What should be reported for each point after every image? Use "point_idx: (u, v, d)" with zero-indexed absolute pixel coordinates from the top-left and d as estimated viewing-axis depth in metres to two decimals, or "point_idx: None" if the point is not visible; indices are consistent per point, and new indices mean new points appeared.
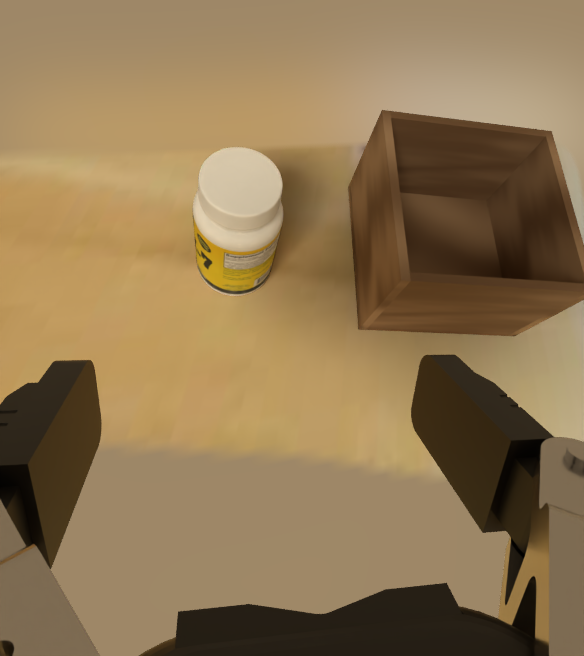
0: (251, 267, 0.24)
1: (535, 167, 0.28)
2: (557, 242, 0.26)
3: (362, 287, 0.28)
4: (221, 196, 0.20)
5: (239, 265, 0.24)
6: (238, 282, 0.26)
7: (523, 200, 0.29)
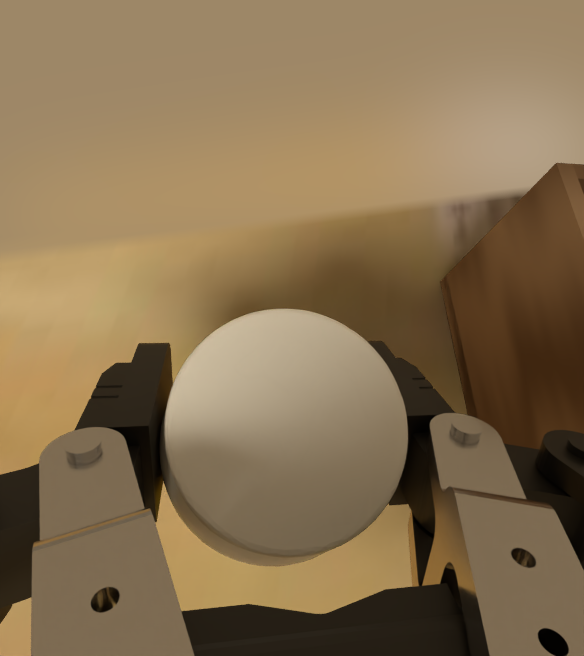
0: None
1: None
2: None
3: None
4: (237, 491, 0.07)
5: None
6: None
7: None
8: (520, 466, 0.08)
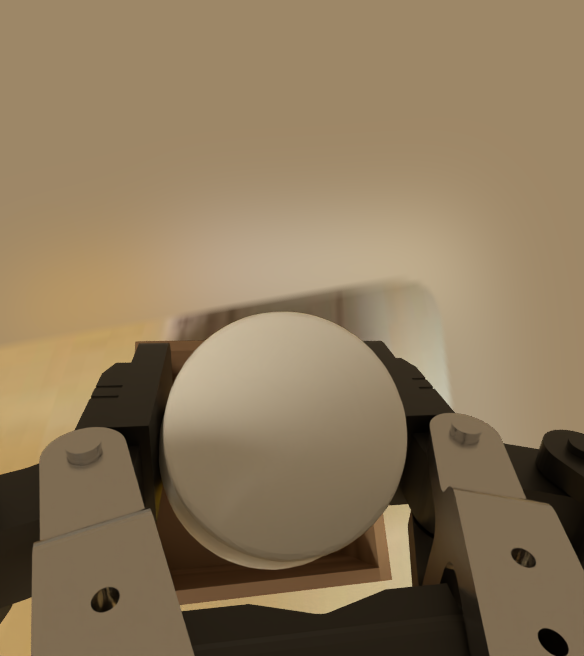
0: None
1: None
2: None
3: None
4: (235, 495, 0.07)
5: None
6: None
7: None
8: (520, 466, 0.08)
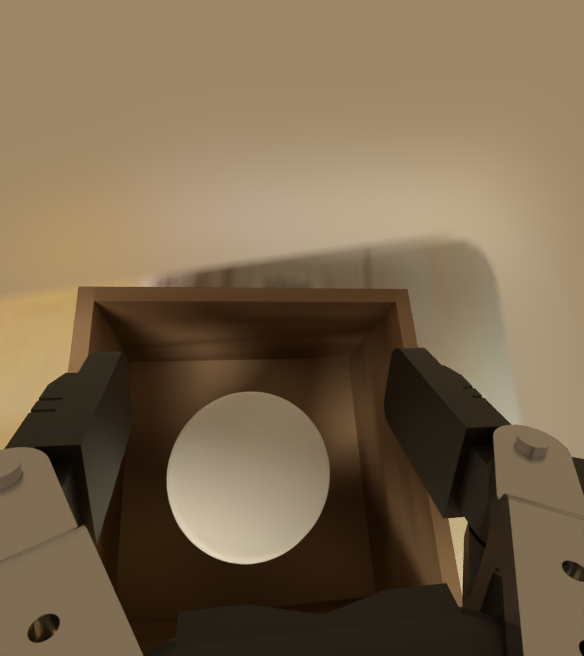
0: None
1: (387, 346, 0.16)
2: (415, 510, 0.14)
3: None
4: (213, 519, 0.10)
5: None
6: None
7: (378, 392, 0.17)
8: None
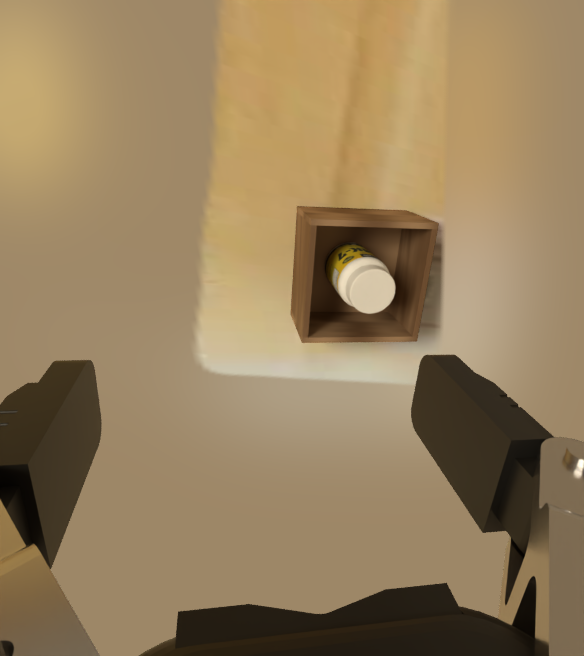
0: (333, 283, 0.41)
1: (395, 331, 0.42)
2: (339, 332, 0.41)
3: (324, 209, 0.41)
4: (363, 281, 0.36)
5: (334, 278, 0.40)
6: (328, 271, 0.42)
7: (376, 324, 0.44)
8: None
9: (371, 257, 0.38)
